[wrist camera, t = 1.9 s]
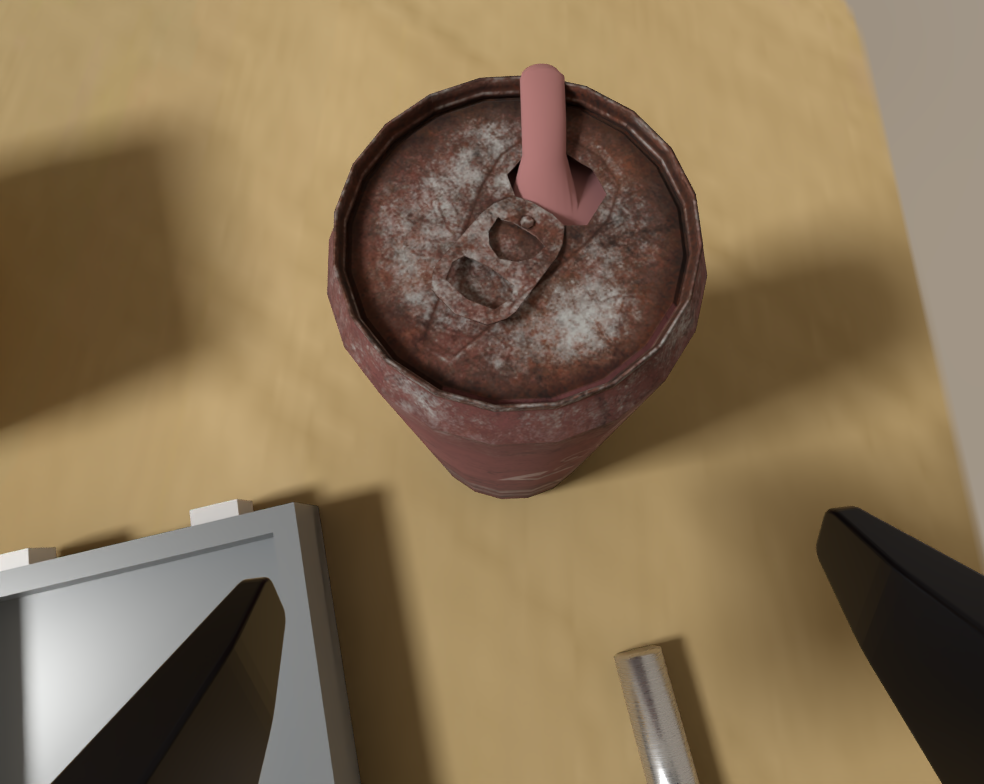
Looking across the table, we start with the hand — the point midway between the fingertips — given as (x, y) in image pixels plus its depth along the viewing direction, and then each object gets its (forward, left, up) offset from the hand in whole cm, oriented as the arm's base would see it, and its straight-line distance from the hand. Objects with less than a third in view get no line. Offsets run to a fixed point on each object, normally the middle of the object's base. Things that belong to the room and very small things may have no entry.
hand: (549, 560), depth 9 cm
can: (+5, -1, -12) cm, 13 cm away
